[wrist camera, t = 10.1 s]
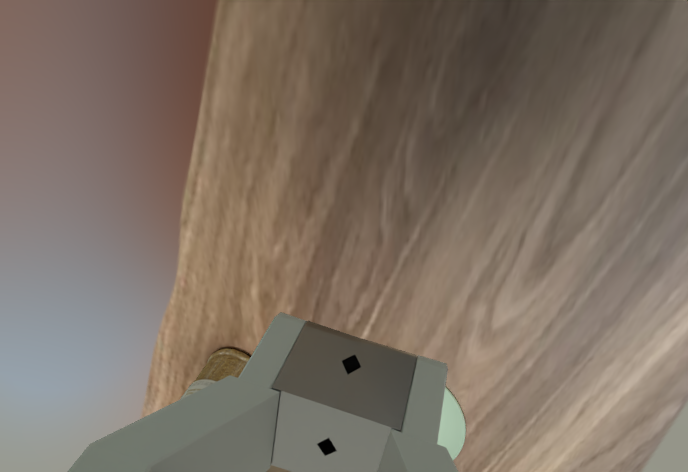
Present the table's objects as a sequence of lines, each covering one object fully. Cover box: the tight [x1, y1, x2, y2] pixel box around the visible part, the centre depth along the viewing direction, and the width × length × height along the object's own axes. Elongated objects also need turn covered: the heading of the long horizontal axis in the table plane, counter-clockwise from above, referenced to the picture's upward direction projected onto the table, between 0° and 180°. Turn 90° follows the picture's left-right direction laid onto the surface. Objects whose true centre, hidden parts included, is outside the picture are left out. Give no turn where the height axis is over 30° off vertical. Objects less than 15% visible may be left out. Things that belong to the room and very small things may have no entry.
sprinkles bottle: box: [180, 349, 250, 400], centre depth 34 cm, size 5×5×14 cm
